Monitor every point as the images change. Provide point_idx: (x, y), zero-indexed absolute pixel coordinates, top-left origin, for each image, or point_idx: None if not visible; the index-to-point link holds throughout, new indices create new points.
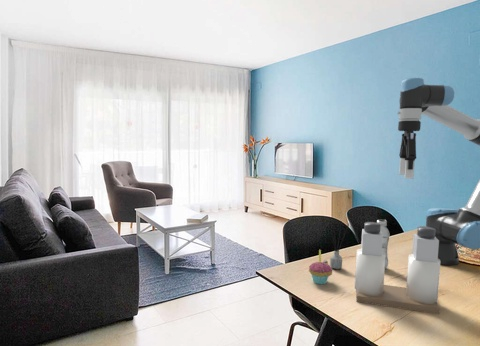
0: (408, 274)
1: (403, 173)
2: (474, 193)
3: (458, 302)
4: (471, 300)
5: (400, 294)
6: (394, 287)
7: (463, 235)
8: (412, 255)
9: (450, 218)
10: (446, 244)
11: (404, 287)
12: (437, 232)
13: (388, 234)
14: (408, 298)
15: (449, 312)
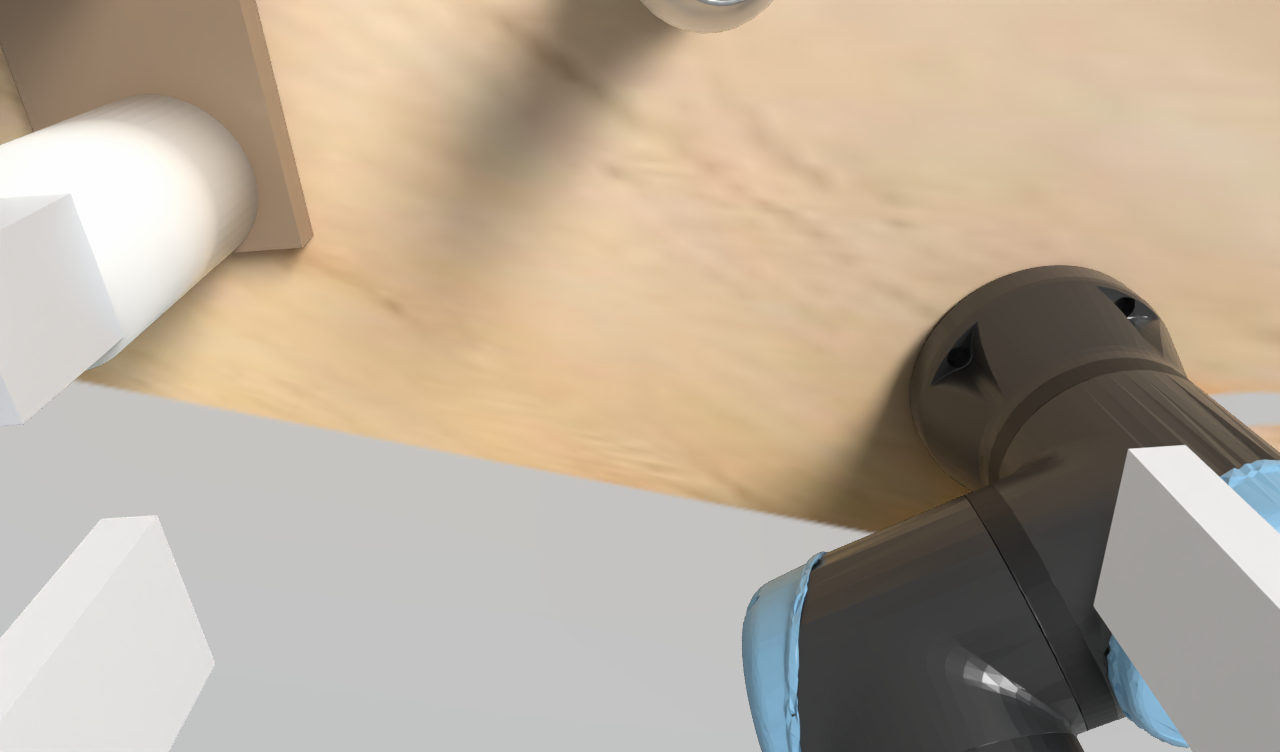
0: (38, 130)
1: (1127, 563)
2: None
3: (320, 363)
4: (385, 425)
5: (123, 58)
6: (220, 26)
7: (755, 621)
8: (33, 192)
9: (995, 639)
10: (988, 477)
11: (261, 95)
12: (1029, 469)
13: (660, 17)
14: (93, 104)
15: None
